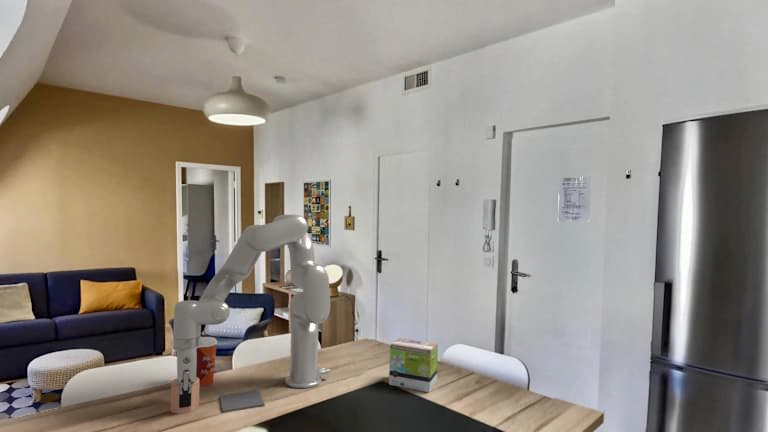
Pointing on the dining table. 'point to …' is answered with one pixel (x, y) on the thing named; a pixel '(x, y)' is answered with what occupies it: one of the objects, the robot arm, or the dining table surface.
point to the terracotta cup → (176, 391)
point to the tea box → (413, 364)
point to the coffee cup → (206, 360)
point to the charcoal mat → (241, 401)
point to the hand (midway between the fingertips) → (185, 401)
